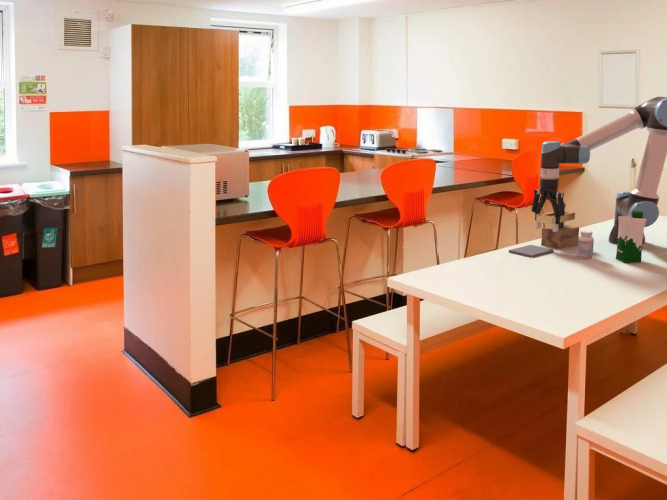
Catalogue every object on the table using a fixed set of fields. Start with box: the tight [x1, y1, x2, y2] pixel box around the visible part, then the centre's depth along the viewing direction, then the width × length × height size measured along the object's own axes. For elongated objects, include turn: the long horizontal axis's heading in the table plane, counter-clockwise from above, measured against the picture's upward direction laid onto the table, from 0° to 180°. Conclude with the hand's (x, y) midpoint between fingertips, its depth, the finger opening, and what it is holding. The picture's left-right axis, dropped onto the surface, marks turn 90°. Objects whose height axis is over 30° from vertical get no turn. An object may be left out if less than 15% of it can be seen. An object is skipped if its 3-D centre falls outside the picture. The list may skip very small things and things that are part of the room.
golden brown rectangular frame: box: [537, 211, 576, 225], centre depth 294 cm, size 8×16×3 cm, turn 126°
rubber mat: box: [508, 244, 555, 259], centre depth 289 cm, size 12×15×1 cm
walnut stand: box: [540, 202, 580, 250], centre depth 298 cm, size 10×13×20 cm
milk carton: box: [615, 211, 646, 264], centre depth 270 cm, size 9×9×20 cm
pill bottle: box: [576, 229, 595, 260], centre depth 277 cm, size 6×6×11 cm
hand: (546, 229), depth 292 cm, fingers closed on golden brown rectangular frame, 8 cm apart
